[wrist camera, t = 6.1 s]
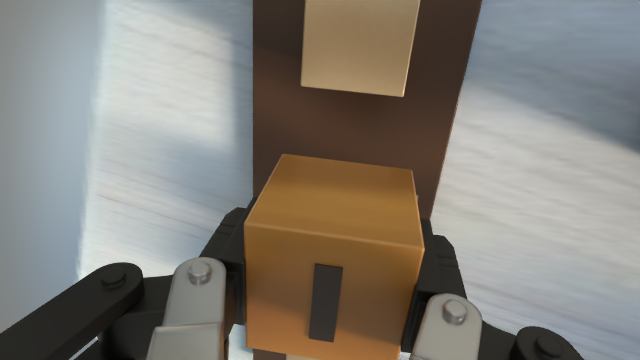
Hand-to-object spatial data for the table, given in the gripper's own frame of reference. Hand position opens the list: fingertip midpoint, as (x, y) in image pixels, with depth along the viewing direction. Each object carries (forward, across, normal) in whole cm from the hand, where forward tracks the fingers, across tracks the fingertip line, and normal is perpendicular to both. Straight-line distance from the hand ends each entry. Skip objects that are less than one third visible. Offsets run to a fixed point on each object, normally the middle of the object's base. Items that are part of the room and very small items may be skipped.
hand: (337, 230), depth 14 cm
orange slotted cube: (+1, 0, 0) cm, 1 cm away
